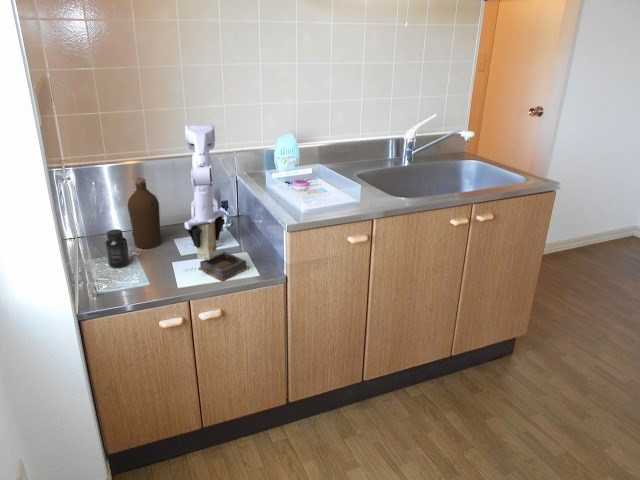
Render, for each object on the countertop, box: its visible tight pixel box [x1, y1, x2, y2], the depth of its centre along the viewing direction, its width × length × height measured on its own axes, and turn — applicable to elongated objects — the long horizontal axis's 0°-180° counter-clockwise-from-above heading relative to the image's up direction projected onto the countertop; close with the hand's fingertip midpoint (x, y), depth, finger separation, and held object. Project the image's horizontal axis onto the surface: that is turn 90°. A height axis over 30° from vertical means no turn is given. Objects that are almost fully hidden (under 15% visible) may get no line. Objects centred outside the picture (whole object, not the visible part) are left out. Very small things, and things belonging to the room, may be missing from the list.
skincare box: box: [196, 222, 217, 260], centre depth 162 cm, size 6×4×12 cm
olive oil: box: [127, 177, 162, 250], centre depth 179 cm, size 11×11×25 cm
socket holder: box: [197, 251, 250, 282], centre depth 167 cm, size 12×12×3 cm
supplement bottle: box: [104, 228, 130, 269], centre depth 166 cm, size 7×7×12 cm
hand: (206, 242), depth 162 cm, fingers closed on skincare box, 7 cm apart
